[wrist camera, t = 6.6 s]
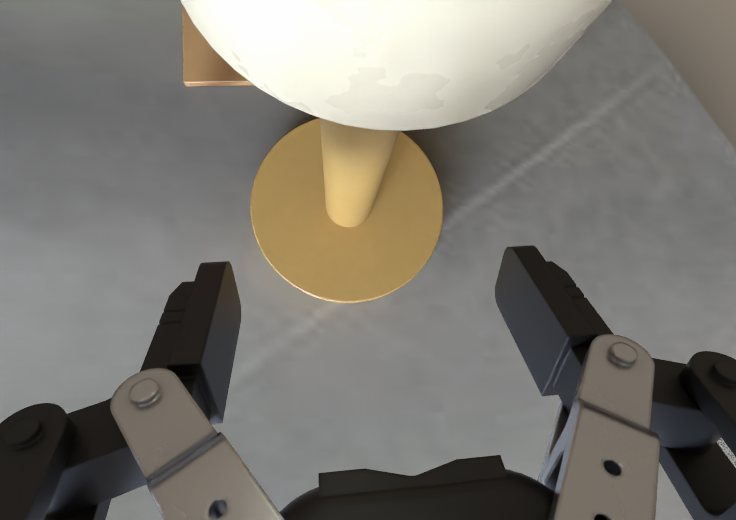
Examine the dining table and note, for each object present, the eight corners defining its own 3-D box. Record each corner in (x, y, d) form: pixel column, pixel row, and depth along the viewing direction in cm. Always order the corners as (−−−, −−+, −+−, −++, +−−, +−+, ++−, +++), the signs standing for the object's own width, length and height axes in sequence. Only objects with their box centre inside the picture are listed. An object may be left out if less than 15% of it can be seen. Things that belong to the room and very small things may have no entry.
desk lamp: (259, 309, 25) (-762, 224, 2) (253, 130, 26) (-360, -1284, 3) (443, 297, 26) (1410, 136, 3) (427, 125, 27) (976, -976, 4)
